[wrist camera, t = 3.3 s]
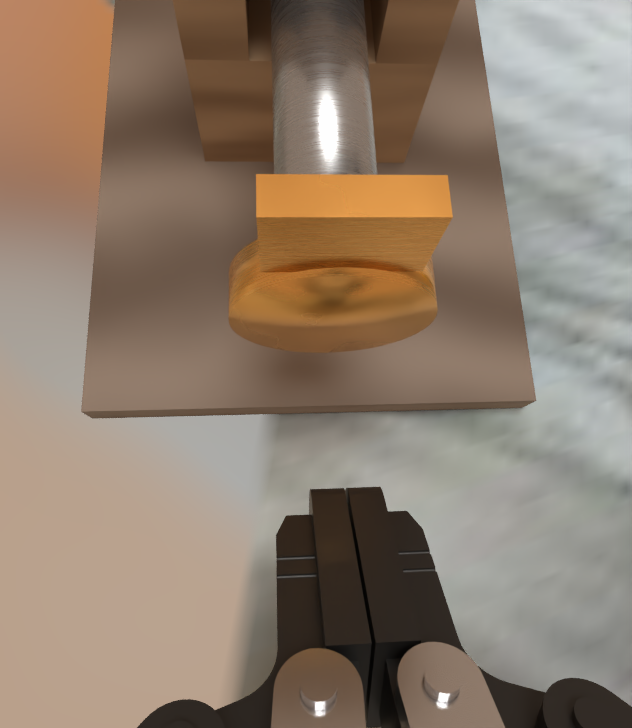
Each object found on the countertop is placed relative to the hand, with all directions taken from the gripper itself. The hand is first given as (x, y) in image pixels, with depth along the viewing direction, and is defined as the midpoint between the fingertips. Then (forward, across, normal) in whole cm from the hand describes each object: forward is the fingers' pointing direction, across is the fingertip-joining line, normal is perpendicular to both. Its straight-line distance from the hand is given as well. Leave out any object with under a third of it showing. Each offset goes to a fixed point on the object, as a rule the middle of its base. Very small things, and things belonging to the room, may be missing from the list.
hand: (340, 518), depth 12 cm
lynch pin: (+9, 0, -6) cm, 11 cm away
